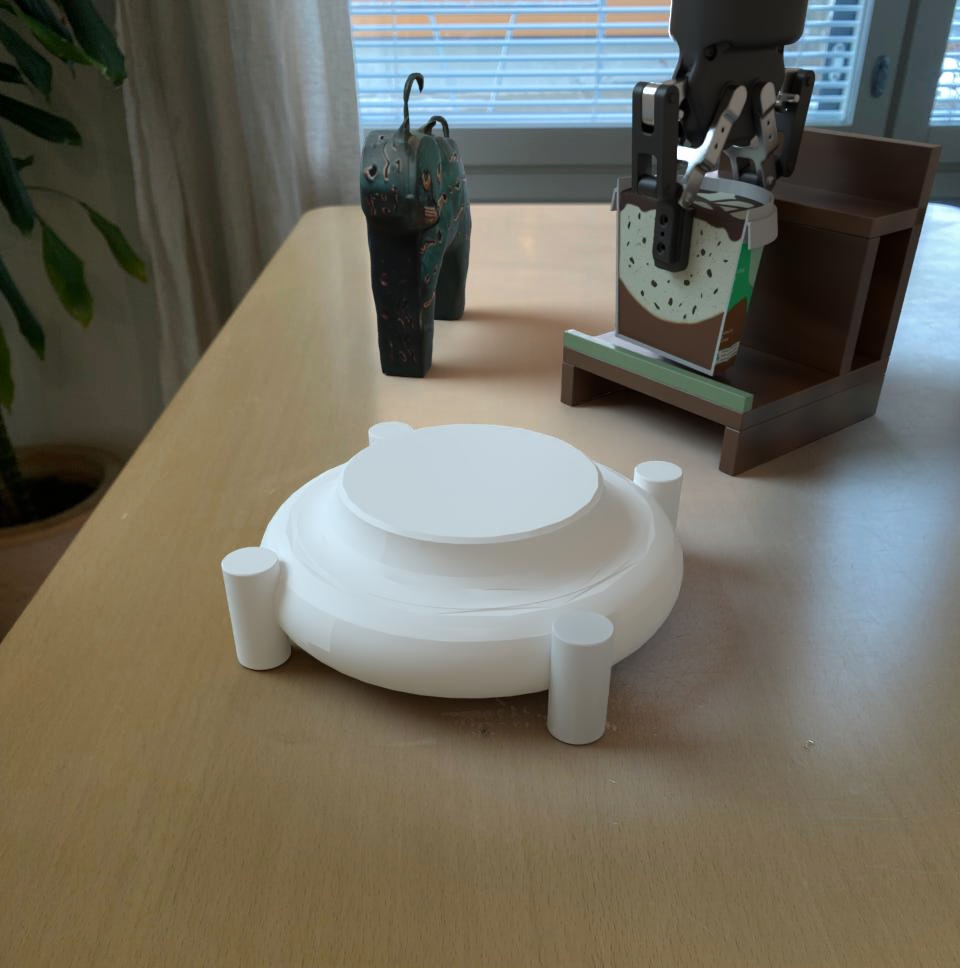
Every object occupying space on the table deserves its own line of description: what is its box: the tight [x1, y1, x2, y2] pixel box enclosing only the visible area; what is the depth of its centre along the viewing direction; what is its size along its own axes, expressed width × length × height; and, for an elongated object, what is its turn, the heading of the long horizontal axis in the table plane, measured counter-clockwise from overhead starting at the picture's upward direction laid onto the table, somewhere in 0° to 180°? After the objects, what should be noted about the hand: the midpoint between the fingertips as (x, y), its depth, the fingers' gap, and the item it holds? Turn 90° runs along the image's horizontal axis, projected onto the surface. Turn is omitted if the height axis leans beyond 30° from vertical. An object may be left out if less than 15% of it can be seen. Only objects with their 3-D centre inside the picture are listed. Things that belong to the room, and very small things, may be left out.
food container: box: [609, 174, 778, 376], centre depth 63 cm, size 12×6×10 cm, turn 34°
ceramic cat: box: [359, 72, 473, 378], centre depth 77 cm, size 20×6×20 cm, turn 168°
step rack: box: [560, 125, 943, 477], centre depth 66 cm, size 16×16×17 cm
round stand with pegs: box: [220, 421, 684, 745], centre depth 48 cm, size 24×24×7 cm
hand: (706, 259), depth 63 cm, fingers closed on food container, 6 cm apart
